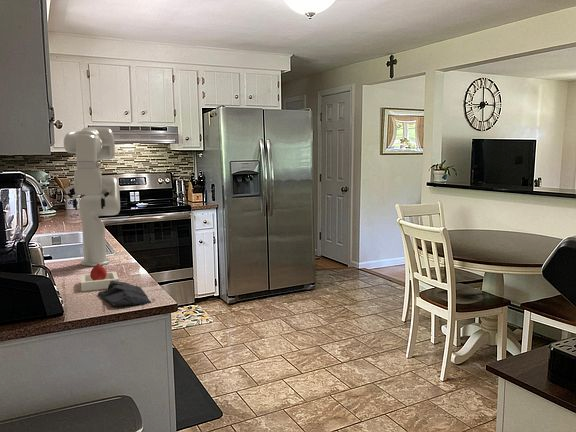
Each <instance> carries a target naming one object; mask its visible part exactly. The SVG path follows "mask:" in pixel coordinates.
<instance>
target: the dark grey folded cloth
mask: <svg viewBox="0 0 576 432" xmlns="http://www.w3.org/2000/svg"><path fill="white" fill-rule="evenodd" d="M97 295H99V296H100V298H101V299H103V300H104V301H106V302H107V303H109V304H110V305H112V306H114V307H117V306H118V307H124V306H137V304H138V306H139V305H140V304H141V305H147V303H148V304H151V303H152V301H151V300H150V298H149V297H148V295H147V294H146V292H145V291H144V290H143V288H142V287H141V286H138V285H133V284H130V283H128V282H124V281H119V282H118V281H110V284H109V286H108V289H105V290H101V291H98V292H97ZM148 298H149V299H148Z"/></svg>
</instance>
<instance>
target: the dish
mask: <svg viewBox="0 0 576 432" xmlns="http://www.w3.org/2000/svg"><path fill="white" fill-rule="evenodd" d="M106 272H107V276H106V278H105V279H104V280H95V281H94V280H92V278H91V276H90V273H87V274H86V273H84V274H80V286H81V287H80V288H81V292H88V291H97V290H98V291H100V290H108V286H109V284H110V281H118V282H120V278H119V276H118V273H117V271H116V270H115V271H106Z"/></svg>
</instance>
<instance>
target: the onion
mask: <svg viewBox="0 0 576 432" xmlns="http://www.w3.org/2000/svg"><path fill="white" fill-rule="evenodd" d="M107 272H108V271H107V269H106V268H105V267H103V265H100V264H99V263H98V264H97V265H96V266H93V267H92V268H91V271H90V273H89V274H90V276H91V278H92V280H94V281H95V280H104V279H105V278H106V276H107Z"/></svg>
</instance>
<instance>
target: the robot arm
mask: <svg viewBox="0 0 576 432" xmlns="http://www.w3.org/2000/svg"><path fill="white" fill-rule="evenodd" d="M115 146H116V145H115V135H114V133H113V131H112V129H111V128H109V127H101V126H100V127H98V126H97V127H94V126H93V127H91V126H88V127H84V128H83V129H81V130H78V131H69V132H68V133H66V134H65V136H64V139H63V147H64V150H65V151H66V153H68V154H75V157H76V158H75V160H76V169H74V175H73V184H71V185H69V186H67V187H66V188H63V189H64V192H65V194H66V195H67V196H68V197H69V198H70V199H71V200H72V208H73V209H75V211H77V210H78V208H79V213H80V218H81V228H82V246H83V248H82V249H83V259H82V260H81V261H80V265H81V266H83V267H95V266H96V265H97V264H98V263H99V264H100V265H101V266H104V265H108V264H110V263H111V260H110V258H107V249H106V248H107V247H106V228H105V226H106V225H105V223H104V222H103V221H102V220H101V219H100V218H99V217H102V216H116V215H119V213H120V211H121V197H120V186H119V184H120V183H119V181H118V179H117V178H116V177H115V176H112V175H111V176H108V175H107V176H103V175H102V170H101V167H102V163H101V162H98V160H99V161H100V160H101V161H105V160H107V161H108V160H112V159H114V157H115V155H116V147H115ZM72 189H73V191H74V194H72V193H71V192H70V190H72ZM79 196H82V197H80V198H79V201H78V200H77V198H78V197H79ZM77 201H78V202H77Z"/></svg>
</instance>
